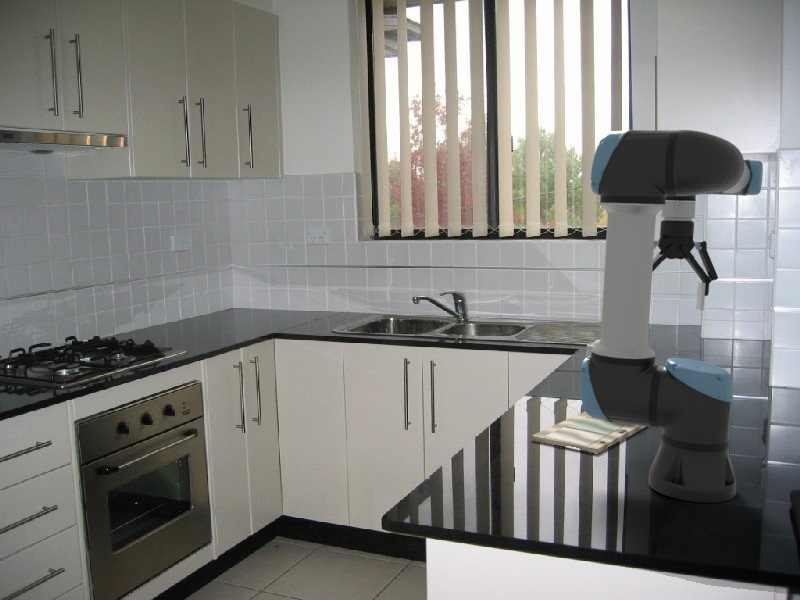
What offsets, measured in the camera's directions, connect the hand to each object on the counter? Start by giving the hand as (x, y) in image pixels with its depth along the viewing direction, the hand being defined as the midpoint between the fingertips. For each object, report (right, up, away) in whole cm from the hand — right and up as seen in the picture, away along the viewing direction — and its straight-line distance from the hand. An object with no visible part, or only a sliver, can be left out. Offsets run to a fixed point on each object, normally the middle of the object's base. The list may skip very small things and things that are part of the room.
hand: (671, 309), depth 201 cm
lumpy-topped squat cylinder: (0, -20, +65) cm, 68 cm away
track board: (-21, -28, -10) cm, 36 cm away
